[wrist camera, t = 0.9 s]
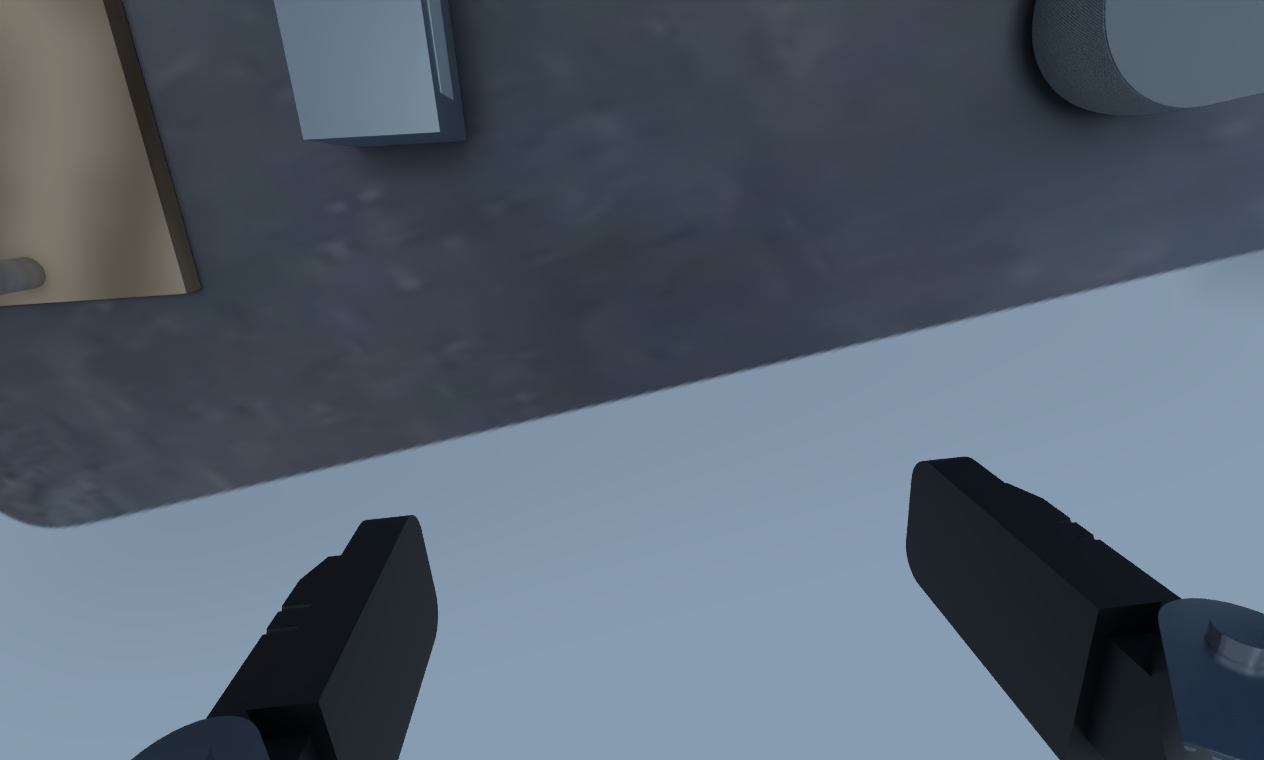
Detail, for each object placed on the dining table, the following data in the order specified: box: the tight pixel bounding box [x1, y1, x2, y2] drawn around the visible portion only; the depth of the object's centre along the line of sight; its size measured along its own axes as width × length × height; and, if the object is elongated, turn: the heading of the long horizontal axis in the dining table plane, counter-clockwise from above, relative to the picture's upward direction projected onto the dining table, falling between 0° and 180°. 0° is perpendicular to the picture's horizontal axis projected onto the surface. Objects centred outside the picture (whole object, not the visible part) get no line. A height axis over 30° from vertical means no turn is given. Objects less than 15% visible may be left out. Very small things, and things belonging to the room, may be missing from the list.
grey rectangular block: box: [274, 0, 467, 147], centre depth 25 cm, size 5×8×6 cm, turn 3°
